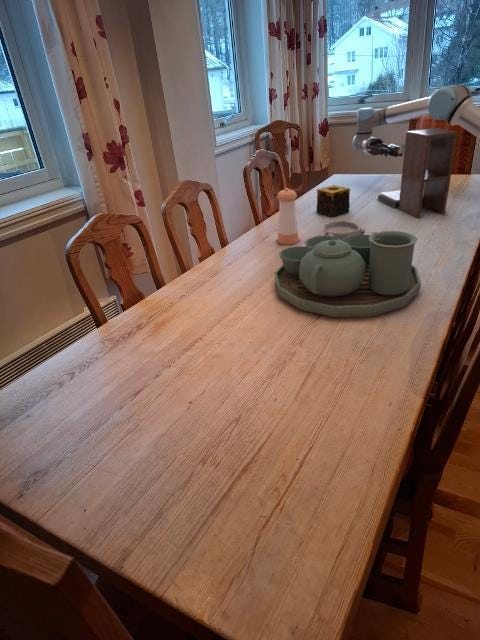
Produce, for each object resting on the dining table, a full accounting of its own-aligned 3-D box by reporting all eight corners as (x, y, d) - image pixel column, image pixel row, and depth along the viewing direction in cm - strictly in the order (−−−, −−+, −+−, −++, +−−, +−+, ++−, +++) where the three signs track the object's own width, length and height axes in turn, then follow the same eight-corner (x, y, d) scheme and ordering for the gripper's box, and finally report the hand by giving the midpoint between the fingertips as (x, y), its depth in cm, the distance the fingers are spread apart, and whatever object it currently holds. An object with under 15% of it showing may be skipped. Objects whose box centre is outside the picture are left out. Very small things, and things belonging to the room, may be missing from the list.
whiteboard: (425, 203, 183) (426, 196, 181) (395, 208, 181) (396, 200, 179) (406, 195, 196) (406, 188, 194) (377, 199, 194) (378, 192, 192)
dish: (330, 249, 148) (330, 235, 145) (315, 236, 159) (315, 223, 157) (369, 242, 150) (370, 228, 147) (352, 230, 161) (353, 217, 159)
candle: (331, 217, 177) (332, 193, 172) (315, 212, 185) (315, 189, 180) (349, 212, 182) (351, 188, 177) (333, 207, 189) (334, 184, 184)
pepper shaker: (302, 239, 158) (301, 186, 148) (289, 245, 153) (288, 191, 144) (286, 236, 162) (284, 184, 153) (274, 242, 158) (271, 189, 148)
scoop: (424, 149, 170) (424, 140, 169) (410, 151, 170) (410, 142, 168) (396, 154, 190) (396, 145, 189) (384, 155, 189) (383, 147, 188)
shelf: (444, 213, 170) (457, 131, 155) (417, 217, 168) (427, 135, 153) (424, 204, 182) (434, 127, 167) (398, 208, 180) (406, 131, 165)
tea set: (409, 258, 135) (415, 206, 127) (427, 323, 102) (437, 258, 94) (284, 257, 144) (282, 209, 136) (263, 317, 111) (259, 257, 103)
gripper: (386, 152, 206) (413, 160, 186) (358, 156, 204) (382, 164, 184) (387, 135, 202) (416, 141, 182) (358, 139, 200) (384, 146, 180)
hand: (399, 153), depth 183 cm, fingers closed on scoop, 2 cm apart
